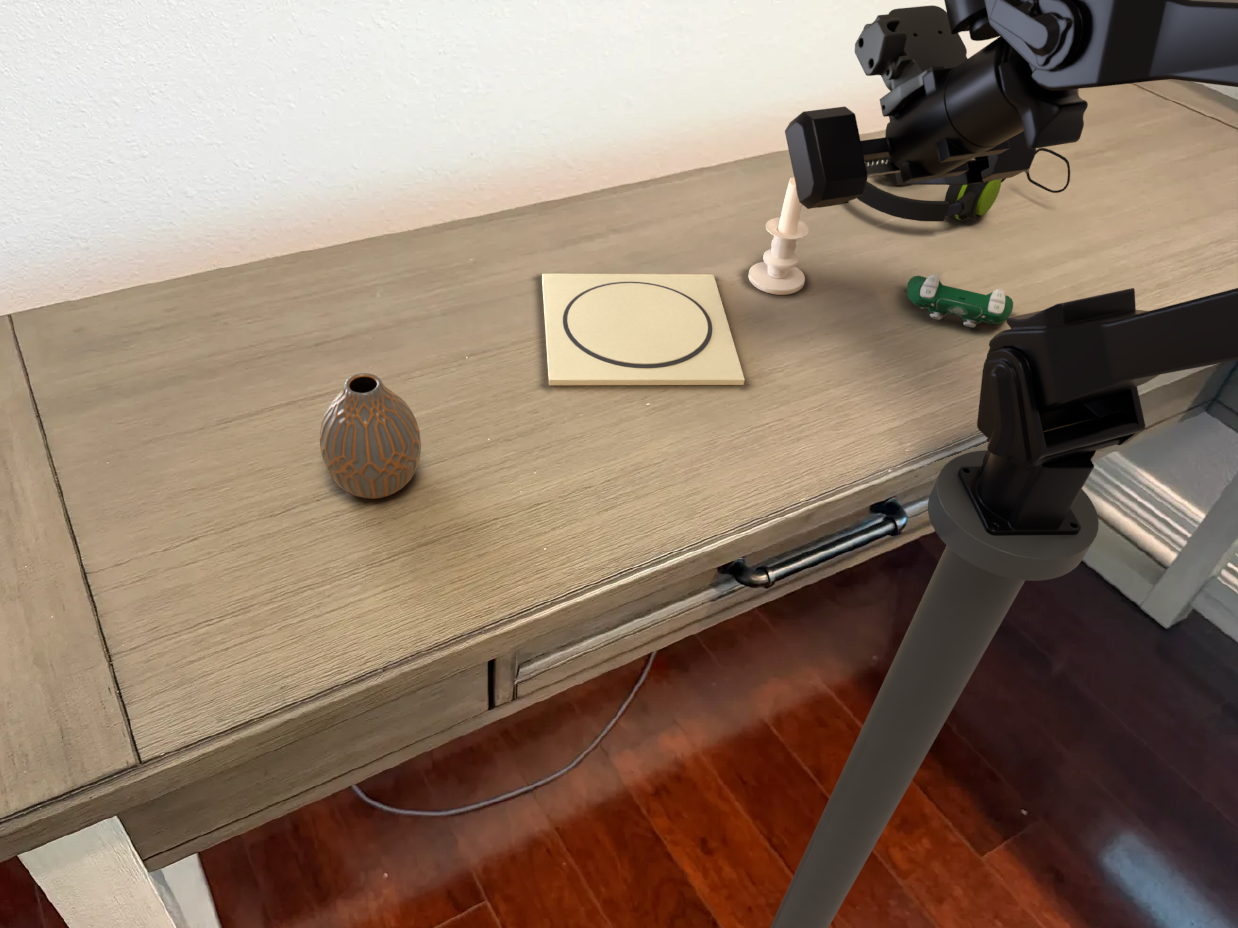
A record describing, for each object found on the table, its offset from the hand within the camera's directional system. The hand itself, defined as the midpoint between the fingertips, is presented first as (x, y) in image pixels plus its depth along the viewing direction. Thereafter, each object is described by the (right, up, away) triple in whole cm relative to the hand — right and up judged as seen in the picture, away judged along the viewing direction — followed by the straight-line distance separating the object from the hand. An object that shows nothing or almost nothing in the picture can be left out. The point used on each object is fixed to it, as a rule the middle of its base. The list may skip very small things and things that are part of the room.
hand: (849, 185), depth 78 cm
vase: (-36, -24, -7) cm, 44 cm away
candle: (-3, -4, +14) cm, 15 cm away
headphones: (+16, +6, +26) cm, 31 cm away
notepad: (-16, -10, +7) cm, 21 cm away
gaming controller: (+12, -9, +10) cm, 18 cm away
